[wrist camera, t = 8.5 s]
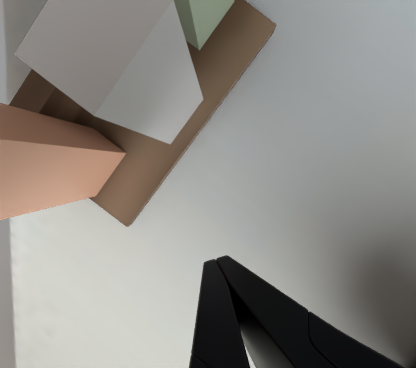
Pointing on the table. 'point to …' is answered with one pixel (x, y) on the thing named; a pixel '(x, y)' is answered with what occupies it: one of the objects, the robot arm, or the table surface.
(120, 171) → the keypad base
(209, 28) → the sage key
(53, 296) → the table surface
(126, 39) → the light grey tall block
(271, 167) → the table surface
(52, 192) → the salmon brown block
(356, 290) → the table surface
